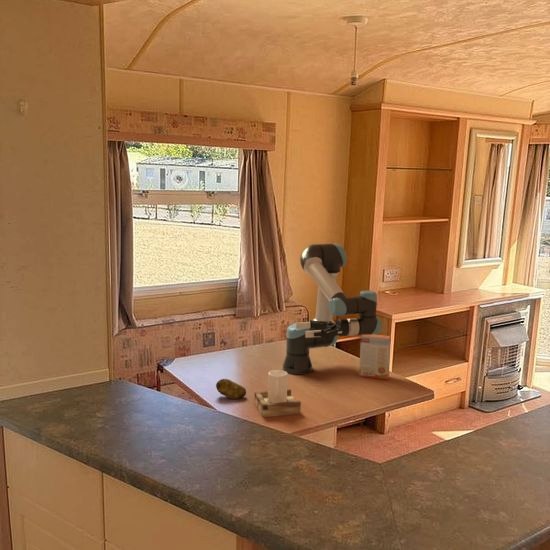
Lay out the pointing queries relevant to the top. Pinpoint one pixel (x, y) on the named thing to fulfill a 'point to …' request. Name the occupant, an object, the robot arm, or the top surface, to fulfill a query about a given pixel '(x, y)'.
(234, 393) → the potato
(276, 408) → the display stand
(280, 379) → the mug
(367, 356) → the cracker box
